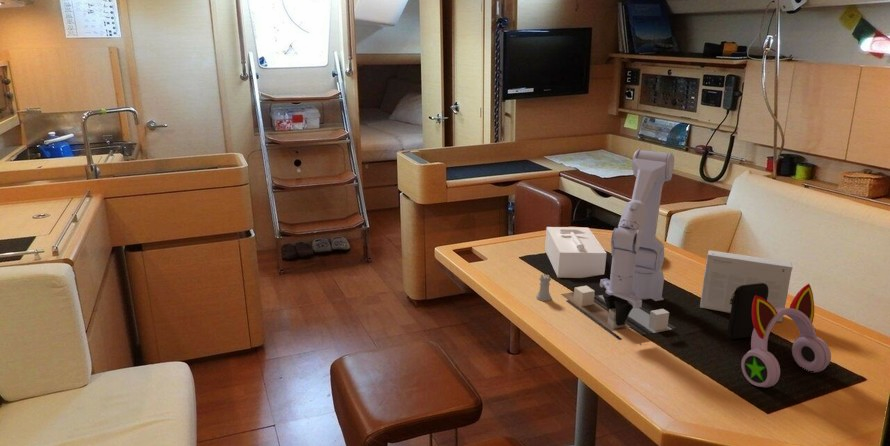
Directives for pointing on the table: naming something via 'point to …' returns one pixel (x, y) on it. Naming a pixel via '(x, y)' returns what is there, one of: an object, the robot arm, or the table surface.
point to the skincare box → (743, 279)
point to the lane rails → (626, 320)
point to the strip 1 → (599, 313)
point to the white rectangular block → (574, 252)
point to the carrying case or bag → (744, 309)
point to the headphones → (805, 348)
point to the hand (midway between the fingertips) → (616, 322)
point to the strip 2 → (650, 318)
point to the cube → (584, 295)
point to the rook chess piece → (544, 288)
